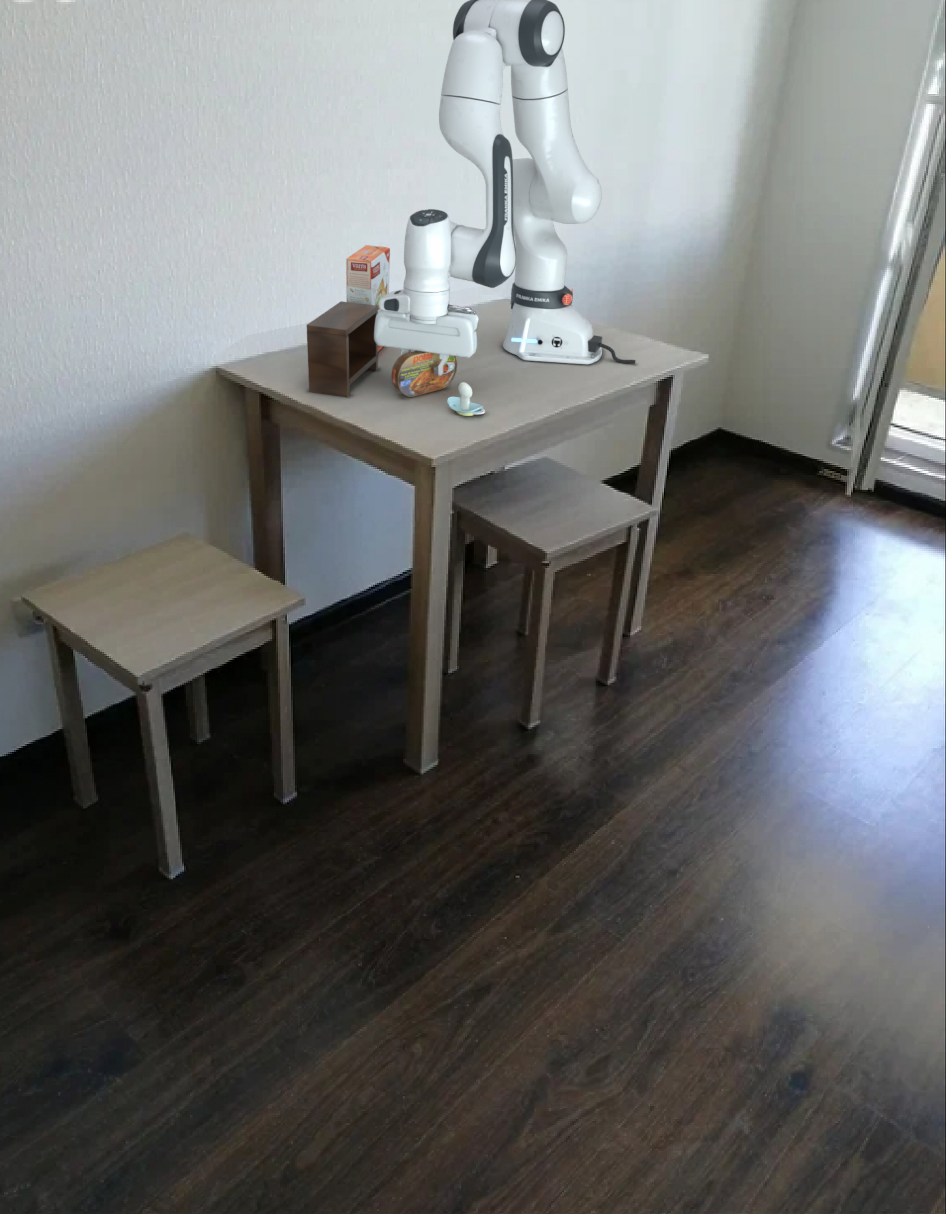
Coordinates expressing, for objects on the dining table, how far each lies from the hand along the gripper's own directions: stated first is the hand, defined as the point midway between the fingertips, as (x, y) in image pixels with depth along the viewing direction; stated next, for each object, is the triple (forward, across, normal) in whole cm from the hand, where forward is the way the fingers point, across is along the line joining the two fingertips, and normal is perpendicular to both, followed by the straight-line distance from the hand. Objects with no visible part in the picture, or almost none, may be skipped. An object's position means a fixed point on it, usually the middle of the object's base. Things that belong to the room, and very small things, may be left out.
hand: (424, 372), depth 195 cm
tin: (+4, 0, 0) cm, 4 cm away
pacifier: (+4, -11, +8) cm, 14 cm away
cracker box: (+4, +19, -20) cm, 28 cm away
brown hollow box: (+4, +17, 0) cm, 17 cm away
